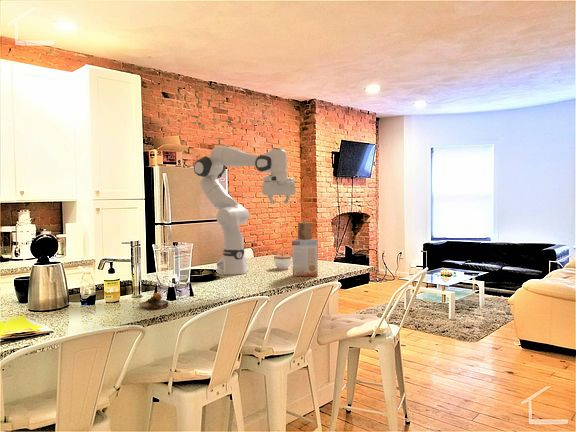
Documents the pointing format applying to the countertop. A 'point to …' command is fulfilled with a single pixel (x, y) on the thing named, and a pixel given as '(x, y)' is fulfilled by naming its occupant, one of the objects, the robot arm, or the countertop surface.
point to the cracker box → (304, 257)
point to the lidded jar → (282, 261)
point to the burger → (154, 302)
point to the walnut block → (304, 230)
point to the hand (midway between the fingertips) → (279, 203)
